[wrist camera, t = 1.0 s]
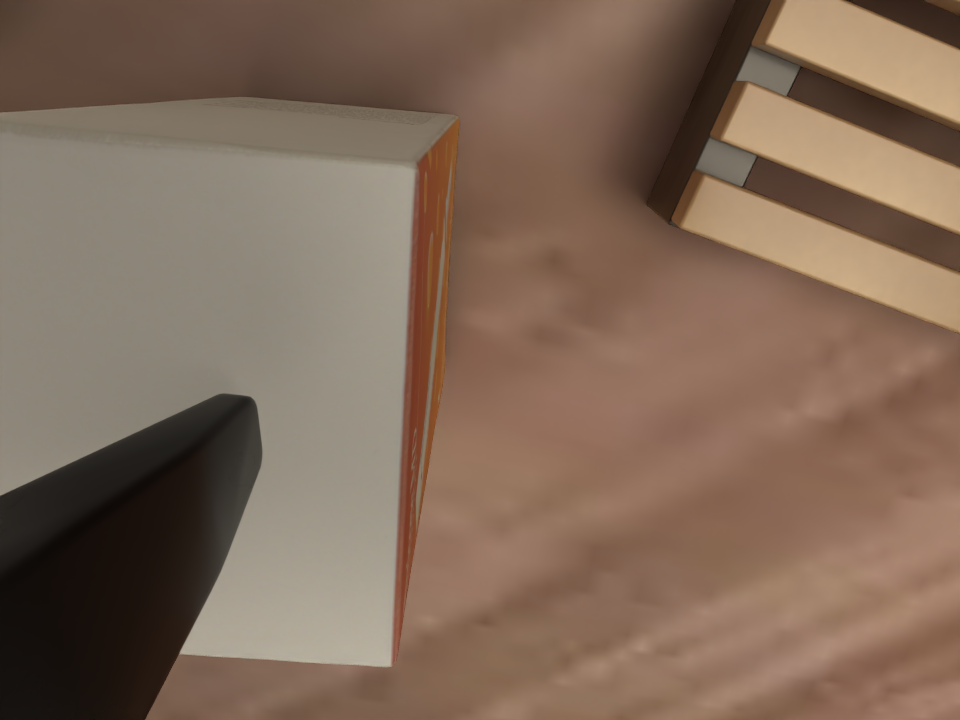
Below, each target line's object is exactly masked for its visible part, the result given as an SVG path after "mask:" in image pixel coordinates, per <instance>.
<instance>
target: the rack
mask: <svg viewBox="0 0 960 720" xmlns="http://www.w3.org/2000/svg"><path fill="white" fill-rule="evenodd" d="M924 1H926V2H929V3H931V4H933V5H936V6H938V7H940V8H943V9H945V10H947V11H950V12H952V13H954V14H957V15H959V16H960V0H924ZM801 67H804V68H807V69H809V70H812V71H814V72H817V73H819V74H821V75H824V76H826V77H829V78H831V79H834V80H836V81H838V82H841V83H843V84H846V85H848V86H851V87H853V88H855V89H858V90H860V91H863V92H865V93H868V94H870V95H872V96H875V97H877V98H880V99H882V100H885V101H887V102H889V103H892V104H894V105H897V106H899V107H902V108H904V109H906V110H909V111H911V112H914V113H916V114H919V115H921V116H923V117H926V118H928V119H931V120H933V121H936V122H938V123H940V124H943V125H945V126H948V127H950V128H953V129H955V130H957V131H960V49H959V48H956V47H954V46H952V45H949V44H947V43H945V42H942V41H940V40H938V39H935V38H933V37H931V36H928V35H926V34H924V33H921V32H919V31H917V30H914V29H912V28H909V27H907V26H905V25H902V24H900V23H898V22H895V21H893V20H891V19H888V18H886V17H884V16H881V15H879V14H877V13H874V12H872V11H869V10H867V9H865V8H862V7H860V6H858V5H855V4H853V3H851V2H848V1H846V0H737V1H736V3H735V6H734V8H733V10H732V12H731V15H730V17H729V19H728V21H727V24H726V26H725V28H724V30H723V33H722V35H721V37H720V39H719V42H718V44H717V46H716V48H715V51H714V53H713V55H712V57H711V60H710V62H709V64H708V66H707V69H706V71H705V73H704V75H703V78H702V80H701V82H700V84H699V87H698V89H697V91H696V93H695V96H694V98H693V100H692V103H691V105H690V107H689V109H688V112H687V114H686V116H685V118H684V121H683V123H682V125H681V127H680V130H679V132H678V134H677V136H676V139H675V141H674V143H673V145H672V148H671V150H670V152H669V154H668V157H667V159H666V161H665V163H664V166H663V168H662V170H661V172H660V175H659V177H658V179H657V181H656V184H655V186H654V188H653V190H652V193H651V195H650V197H649V199H648V202H647V206H649V207H650V208H651V209H652V210H653V211H654V212H655V213H657V214H658V215H659V216H660V217H661V218H662V219H664V220H665V221H666V222H667V223H668V224H669V225H672V226H675V227H677V228H680V229H683V230H685V231H688V232H691V233H693V234H696V235H698V236H701V237H704V238H706V239H709V240H712V241H715V242H718V243H720V244H723V245H726V246H728V247H731V248H734V249H736V250H739V251H741V252H744V253H747V254H749V255H752V256H755V257H757V258H760V259H763V260H765V261H768V262H771V263H773V264H776V265H778V266H781V267H784V268H786V269H789V270H792V271H794V272H797V273H800V274H802V275H805V276H808V277H810V278H813V279H815V280H818V281H821V282H823V283H826V284H829V285H831V286H834V287H837V288H839V289H842V290H845V291H847V292H850V293H852V294H855V295H858V296H860V297H863V298H866V299H868V300H871V301H874V302H876V303H879V304H882V305H884V306H887V307H889V308H892V309H895V310H897V311H900V312H903V313H905V314H908V315H911V316H913V317H916V318H919V319H921V320H924V321H926V322H929V323H932V324H934V325H937V326H940V327H942V328H945V329H948V330H950V331H953V332H956V333H958V334H960V271H957V270H955V269H952V268H949V267H947V266H944V265H942V264H939V263H937V262H934V261H931V260H929V259H926V258H924V257H921V256H919V255H916V254H913V253H911V252H908V251H906V250H903V249H901V248H898V247H895V246H893V245H890V244H888V243H885V242H883V241H880V240H877V239H875V238H872V237H870V236H867V235H865V234H862V233H859V232H857V231H854V230H852V229H849V228H847V227H844V226H841V225H839V224H836V223H834V222H831V221H829V220H826V219H823V218H821V217H818V216H816V215H813V214H811V213H808V212H805V211H803V210H800V209H798V208H795V207H793V206H790V205H787V204H785V203H782V202H780V201H777V200H775V199H772V198H769V197H767V196H764V195H762V194H759V193H756V192H754V191H751V190H749V189H746V188H744V187H743V186H744V184H745V182H746V180H747V178H748V176H749V174H750V172H751V170H752V168H753V166H754V164H755V162H756V159H757V157H761V158H763V159H766V160H769V161H771V162H774V163H776V164H779V165H781V166H784V167H786V168H789V169H791V170H794V171H796V172H799V173H801V174H804V175H807V176H809V177H812V178H814V179H817V180H819V181H822V182H824V183H827V184H829V185H832V186H834V187H837V188H840V189H842V190H845V191H847V192H850V193H852V194H855V195H857V196H860V197H862V198H865V199H867V200H870V201H872V202H875V203H878V204H880V205H883V206H885V207H888V208H890V209H893V210H895V211H898V212H900V213H903V214H905V215H908V216H910V217H913V218H916V219H918V220H921V221H923V222H926V223H928V224H931V225H933V226H936V227H938V228H941V229H943V230H946V231H949V232H951V233H954V234H956V235H959V236H960V166H957V165H955V164H952V163H950V162H947V161H945V160H942V159H940V158H938V157H935V156H933V155H930V154H928V153H925V152H923V151H920V150H918V149H915V148H913V147H910V146H908V145H906V144H903V143H901V142H898V141H896V140H893V139H891V138H888V137H886V136H883V135H881V134H878V133H876V132H873V131H871V130H869V129H866V128H864V127H861V126H859V125H856V124H854V123H851V122H849V121H846V120H844V119H841V118H839V117H837V116H834V115H832V114H829V113H827V112H824V111H822V110H819V109H817V108H814V107H812V106H809V105H807V104H805V103H802V102H800V101H797V100H795V99H792V98H790V97H787V96H788V94H789V92H790V90H791V88H792V86H793V84H794V82H795V79H796V77H797V75H798V73H799V71H800V69H801Z"/></svg>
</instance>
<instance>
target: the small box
mask: <svg viewBox="0 0 960 720" xmlns="http://www.w3.org/2000/svg"><path fill="white" fill-rule="evenodd" d="M459 125H460V124H459V118H458V117H457V116H456V115H451V114H441V113H429V112H417V111H405V110H394V109H382V108H371V107H359V106H348V105H336V104H325V103H313V102H301V101H290V100H278V99H266V98H254V97H228V98H210V99H192V100H180V101H165V102H156V103H141V104H124V105H108V106H92V107H77V108H63V109H48V110H34V111H18V112H0V496H1V495H3V494H5V493H7V492H9V491H11V490H13V489H16V488H18V487H20V486H22V485H24V484H26V483H28V482H31V481H33V480H35V479H37V478H39V477H41V476H44V475H46V474H48V473H50V472H52V471H54V470H56V469H59V468H61V467H63V466H65V465H67V464H69V463H71V462H74V461H76V460H78V459H80V458H82V457H84V456H86V455H89V454H91V453H93V452H95V451H97V450H99V449H102V448H104V447H106V446H108V445H110V444H112V443H114V442H117V441H119V440H121V439H123V438H125V437H127V436H129V435H132V434H134V433H136V432H138V431H140V430H142V429H144V428H147V427H149V426H151V425H153V424H155V423H157V422H160V421H162V420H164V419H166V418H168V417H170V416H172V415H175V414H177V413H179V412H181V411H183V410H185V409H187V408H190V407H192V406H194V405H196V404H198V403H200V402H202V401H205V400H207V399H209V398H211V397H213V396H215V395H218V394H221V393H226V394H236V395H245V396H250V397H252V398H253V399H254V400H255V402H256V405H257V409H258V417H259V425H260V433H261V441H262V450H263V455H262V463H261V468H260V471H259V473H258V476H257V479H256V481H255V484H254V487H253V489H252V492H251V495H250V497H249V500H248V503H247V505H246V508H245V510H244V513H243V516H242V518H241V521H240V524H239V526H238V529H237V532H236V534H235V537H234V540H233V542H232V545H231V548H230V550H229V553H228V556H227V558H226V560H225V563H224V565H223V568H222V570H221V573H220V575H219V577H218V579H217V581H216V583H215V585H214V587H213V589H212V591H211V593H210V595H209V597H208V599H207V601H206V603H205V605H204V607H203V608H202V610H201V612H200V614H199V616H198V618H197V620H196V622H195V624H194V626H193V628H192V630H191V632H190V634H189V636H188V637H187V639H186V641H185V643H184V645H183V647H182V649H181V651H180V653H179V654H186V655H200V656H213V657H232V658H245V659H267V660H279V661H294V662H307V663H325V664H353V665H365V666H377V667H390V666H392V665H394V663H395V662H396V661H397V656H398V650H399V643H400V637H401V630H402V623H403V617H404V610H405V604H406V598H407V591H408V585H409V579H410V573H411V567H412V560H413V554H414V549H415V543H416V537H417V531H418V525H419V519H420V514H421V508H422V502H423V496H424V490H425V484H426V478H427V472H428V466H429V460H430V453H431V447H432V441H433V434H434V428H435V423H436V418H437V413H438V409H439V404H440V398H441V393H442V387H443V380H444V373H445V335H446V314H447V298H448V279H449V261H450V246H451V232H452V219H453V204H454V188H455V172H456V159H457V147H458V136H459Z"/></svg>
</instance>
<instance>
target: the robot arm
mask: <svg viewBox="0 0 960 720" xmlns="http://www.w3.org/2000/svg"><path fill="white" fill-rule="evenodd" d="M262 455H263V450H262V441H261V433H260V425H259V417H258V409H257V405H256V402H255V400H254V399H253V398H252V397H250V396H245V395H236V394H226V393H221V394H218V395H215V396H213V397H211V398H209V399H207V400H205V401H202V402H200V403H198V404H196V405H194V406H192V407H190V408H187V409H185V410H183V411H181V412H179V413H177V414H175V415H172V416H170V417H168V418H166V419H164V420H162V421H160V422H157V423H155V424H153V425H151V426H149V427H147V428H144V429H142V430H140V431H138V432H136V433H134V434H132V435H129V436H127V437H125V438H123V439H121V440H119V441H117V442H114V443H112V444H110V445H108V446H106V447H104V448H102V449H99V450H97V451H95V452H93V453H91V454H89V455H86V456H84V457H82V458H80V459H78V460H76V461H74V462H71V463H69V464H67V465H65V466H63V467H61V468H59V469H56V470H54V471H52V472H50V473H48V474H46V475H44V476H41V477H39V478H37V479H35V480H33V481H31V482H28V483H26V484H24V485H22V486H20V487H18V488H16V489H13V490H11V491H9V492H7V493H5V494H3V495H1V496H0V720H145V719H146V717H147V715H148V713H149V711H150V709H151V707H152V705H153V703H154V701H155V699H156V697H157V695H158V694H159V692H160V690H161V688H162V686H163V684H164V682H165V680H166V678H167V676H168V674H169V672H170V670H171V668H172V666H173V665H174V663H175V661H176V659H177V657H178V655H179V653H180V651H181V649H182V647H183V645H184V643H185V641H186V639H187V637H188V636H189V634H190V632H191V630H192V628H193V626H194V624H195V622H196V620H197V618H198V616H199V614H200V612H201V610H202V608H203V607H204V605H205V603H206V601H207V599H208V597H209V595H210V593H211V591H212V589H213V587H214V585H215V583H216V581H217V579H218V577H219V575H220V573H221V570H222V568H223V565H224V563H225V560H226V558H227V556H228V553H229V550H230V548H231V545H232V542H233V540H234V537H235V534H236V532H237V529H238V526H239V524H240V521H241V518H242V516H243V513H244V510H245V508H246V505H247V503H248V500H249V497H250V495H251V492H252V489H253V487H254V484H255V481H256V479H257V476H258V473H259V471H260V468H261V463H262Z"/></svg>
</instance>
